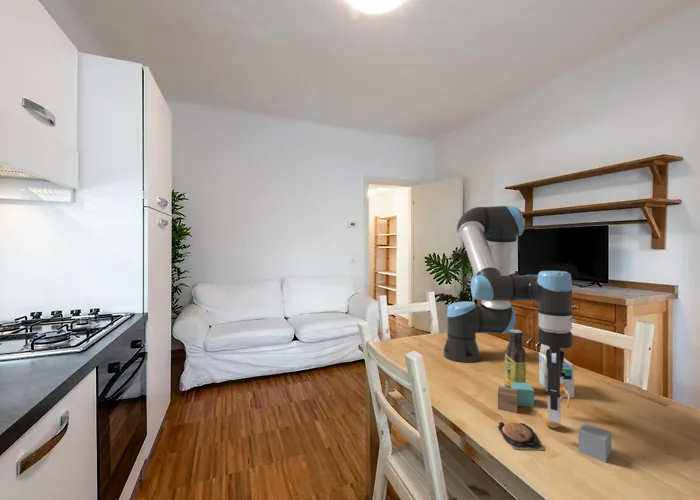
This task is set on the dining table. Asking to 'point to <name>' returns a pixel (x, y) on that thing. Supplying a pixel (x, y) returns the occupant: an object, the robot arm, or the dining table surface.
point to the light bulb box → (567, 380)
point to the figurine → (562, 390)
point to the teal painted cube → (524, 394)
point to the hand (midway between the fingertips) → (555, 409)
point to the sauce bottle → (515, 359)
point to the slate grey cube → (594, 442)
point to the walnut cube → (507, 399)
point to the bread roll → (520, 437)
